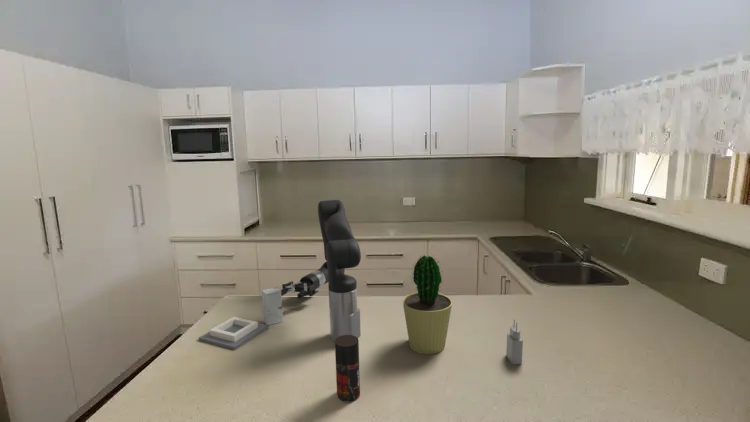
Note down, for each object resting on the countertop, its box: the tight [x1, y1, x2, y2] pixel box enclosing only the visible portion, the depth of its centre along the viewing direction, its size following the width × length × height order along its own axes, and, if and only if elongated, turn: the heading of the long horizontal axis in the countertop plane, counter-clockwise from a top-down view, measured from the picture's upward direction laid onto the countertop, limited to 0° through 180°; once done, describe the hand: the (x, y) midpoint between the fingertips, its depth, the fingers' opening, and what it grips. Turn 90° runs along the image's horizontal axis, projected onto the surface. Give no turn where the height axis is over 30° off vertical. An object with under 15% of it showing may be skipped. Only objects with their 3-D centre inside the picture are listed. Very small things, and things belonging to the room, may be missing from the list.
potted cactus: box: [402, 254, 453, 355], centre depth 121 cm, size 15×15×30 cm
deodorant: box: [334, 335, 361, 403], centre depth 98 cm, size 6×6×15 cm
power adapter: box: [505, 319, 524, 365], centre depth 113 cm, size 3×5×12 cm, turn 1°
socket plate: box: [198, 316, 270, 351], centre depth 132 cm, size 16×16×3 cm
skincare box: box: [261, 286, 284, 326], centre depth 141 cm, size 6×4×12 cm
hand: (289, 295), depth 149 cm, fingers open, 8 cm apart
